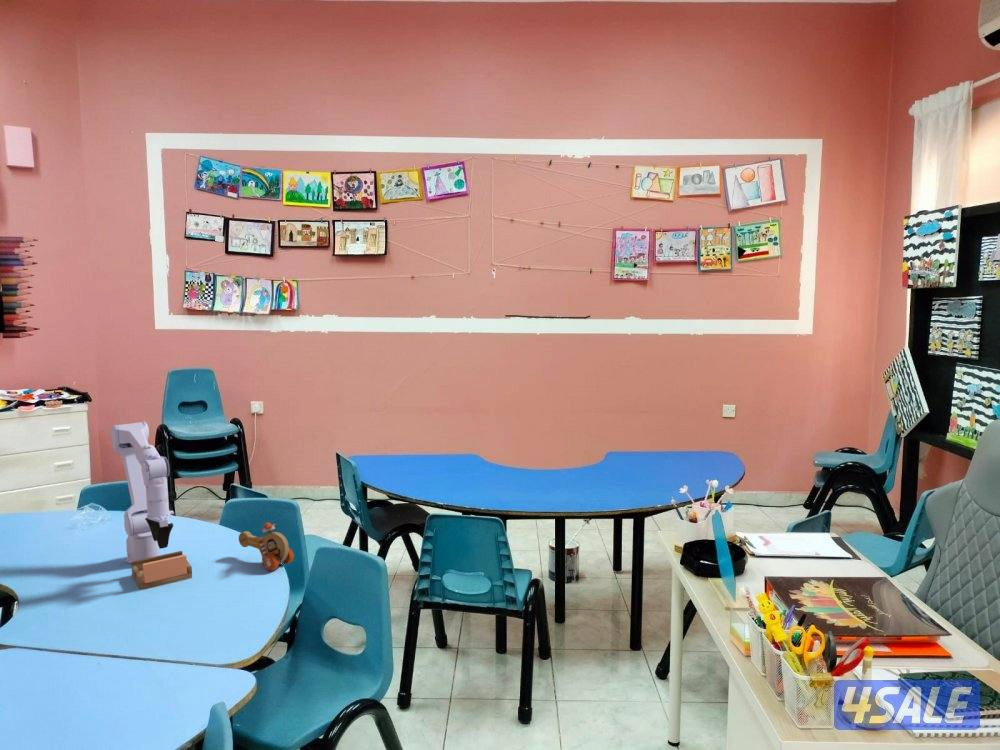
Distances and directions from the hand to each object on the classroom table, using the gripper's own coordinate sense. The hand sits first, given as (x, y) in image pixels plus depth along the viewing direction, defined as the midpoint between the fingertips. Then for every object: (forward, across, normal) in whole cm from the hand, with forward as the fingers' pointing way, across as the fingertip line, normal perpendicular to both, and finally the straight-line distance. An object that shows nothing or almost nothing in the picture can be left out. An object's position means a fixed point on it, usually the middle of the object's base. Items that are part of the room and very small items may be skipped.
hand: (160, 543), depth 204 cm
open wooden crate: (+10, +1, 0) cm, 10 cm away
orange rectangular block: (+9, -5, 0) cm, 10 cm away
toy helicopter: (+11, -7, -28) cm, 31 cm away
